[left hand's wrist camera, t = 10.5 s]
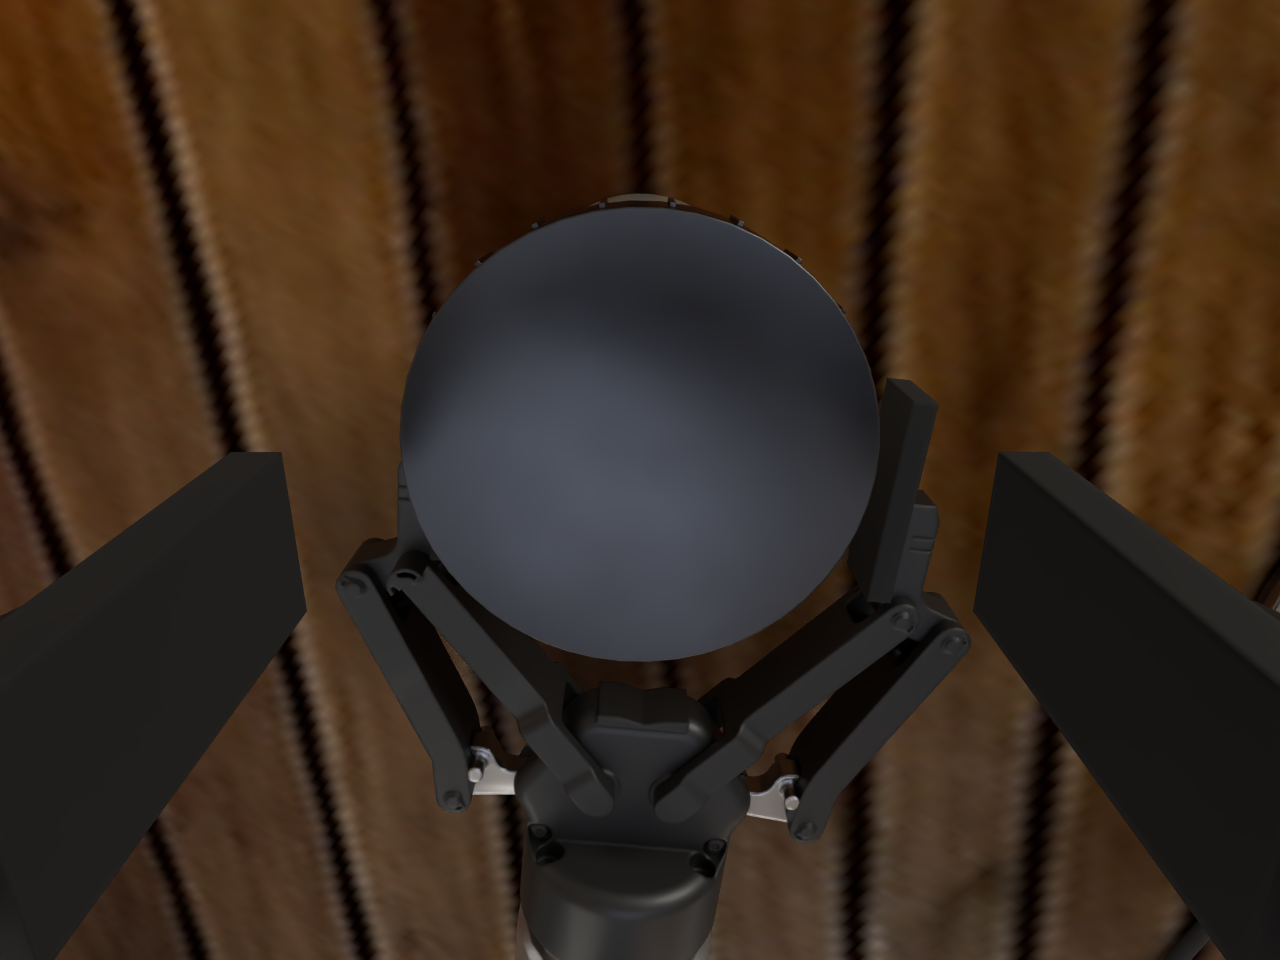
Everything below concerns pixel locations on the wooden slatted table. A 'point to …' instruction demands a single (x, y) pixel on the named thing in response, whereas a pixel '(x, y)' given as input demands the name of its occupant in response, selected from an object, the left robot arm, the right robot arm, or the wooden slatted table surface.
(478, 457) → the lid
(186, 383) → the wooden slatted table surface
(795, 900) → the wooden slatted table surface
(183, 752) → the left robot arm
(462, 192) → the wooden slatted table surface
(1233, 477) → the wooden slatted table surface
